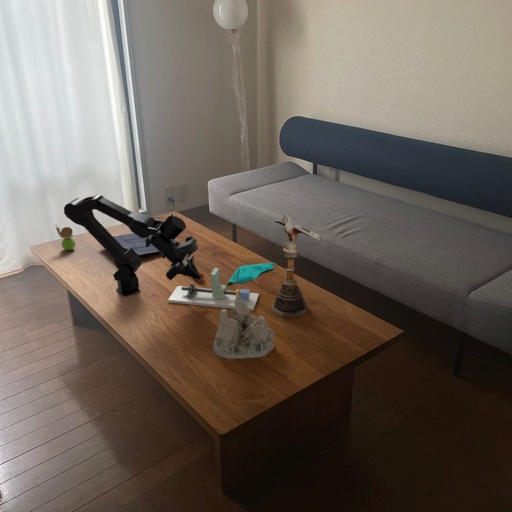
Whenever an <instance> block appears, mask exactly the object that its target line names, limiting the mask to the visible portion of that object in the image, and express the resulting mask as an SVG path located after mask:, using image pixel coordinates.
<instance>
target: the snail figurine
mask: <svg viewBox="0 0 512 512" xmlns="http://www.w3.org/2000/svg"><path fill="white" fill-rule="evenodd" d="M54 226H55V230H56V232H57V234H58V235H59V237H60V238H62V241H61V247H62V248H63V250H66V251H71V250H73V249H74V248H75V247H76V242H75V239H74V238H73V236H74V234H73V229H72V228H71V227H69V226H65V227H62V229H60V227H58V226H57V224H55V225H54Z"/></svg>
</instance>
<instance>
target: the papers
mask: <svg viewBox="0 0 512 512" xmlns="http://www.w3.org/2000/svg"><path fill="white" fill-rule="evenodd" d="M160 232H161V231H160V230H159V231H158V233H160ZM151 236H152V235H150V236H149V237H151ZM113 237H114V238H115V239H116V240H117V241H118V242H119V243H120V245H121V246H122V247H124V248H126V249H128V250H129V249H130V248H133V249H134V251H135V252H136V253H137V254H139V255H141V256H142V255H145V254H151V253H157V252H159V251H158V250H157V249H156V248H155V247H154V246H153V245H152V244H150V245H149V246H148V247H146V240H145V239H146V238H141V237H139V236H137V235H136V234H134V233H133V232H132V233H126V234H120V235H115V236H113ZM171 240H172V239H171ZM172 241H173V242H174V243H175V242H176V241H177V240H176V239H174V240H172ZM179 243H180V244H182V243H181V242H179ZM159 253H160V252H159Z"/></svg>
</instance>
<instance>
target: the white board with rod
mask: <svg viewBox="0 0 512 512" xmlns="http://www.w3.org/2000/svg"><path fill="white" fill-rule="evenodd" d="M195 285H196V284H195V283H194V282H193V283H192V282H191V283H190V286H183V285H178V286H176V287H175V289H174V291H172V293H171V295H170V297H169V298H168V299H167V302H168V303H171V304H172V303H173V304H182V305H195V306H202V307H203V306H204V307H213V308H214V307H215V308H222V309H231V310H233V308H234V306H235V299H236V296H240V299H241V302H242V301H245V303H246V305H247V307H248V308H249V310H250V311H252V312H253V311H254V309H255V307H256V304H257V302H258V299H259V297H260V293H257V292H251V289H246V288H245V289H244V288H240V289H239V288H236V290H226V291H224V294H226V295H224V299H218V298H213V297H212V290H211V288H204V287H203V288H202V287H195Z"/></svg>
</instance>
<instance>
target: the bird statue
mask: <svg viewBox="0 0 512 512" xmlns="http://www.w3.org/2000/svg"><path fill="white" fill-rule="evenodd" d="M280 218H281V219H275V220H274V222H275V223H277V224H280V225H281V226H282V227H283V231H284V233H286V234H287V238H288V240H287V241H286V242H285V244H284V246H283V247H282V251H283V257H284V258H286V260H287V261H286V268H285V270H286V278H285V279H284V280H283V283H282V285H281V287H280V288H279V290H278V291H277V295H276V297H275V298H274V300H273V301H272V306H271V307H272V309H271V310H272V311H271V312H273V313H275V314H277V315H278V316H279V317H281V318H291V319H292V318H293V319H296V318H298V317H301V316H302V315H305V314H306V312H307V311H306V310H307V302H306V300H305V298H304V296H303V291H302V289H300V287H299V285H298V284H297V283H298V281H297V279H295V278H294V272H295V269H296V268H295V266H294V263H295V258H297V257H298V252H299V247H298V246H297V243H296V242H297V239H298V235H299V234H302V235H305V236H307V237H311V238H313V239H314V240H317V242H319V243H322V242H321V241H322V240H321V234H317V233H314V232H312V231H309V230H307V228H305V227H302V226H300V225H294V224H293V223H292V222H293V219H292V216H291V215H290V214H289V213H283V214H282V216H281V217H280ZM285 219H286V220H285Z"/></svg>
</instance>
